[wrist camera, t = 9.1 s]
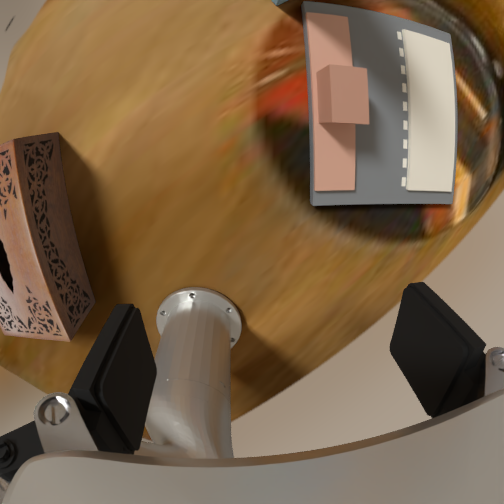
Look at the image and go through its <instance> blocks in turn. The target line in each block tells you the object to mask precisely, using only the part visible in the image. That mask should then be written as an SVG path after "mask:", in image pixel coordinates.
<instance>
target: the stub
mask: <svg viewBox="0 0 504 504" xmlns="http://www.w3.org/2000/svg"><path fill="white" fill-rule="evenodd" d="M306 23H307V33H308V45H309V58H310V73H311V91H312V113H313V148H314V190H315V191H330V190H355V124H369V97H368V78H367V68H360V67H353V64H352V52H351V42H350V32H349V24H348V17H345V16H338V15H330V14H321V13H310V12H307V13H306Z"/></svg>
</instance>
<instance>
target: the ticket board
mask: <svg viewBox="0 0 504 504" xmlns="http://www.w3.org/2000/svg"><path fill="white" fill-rule="evenodd" d="M301 9H302V19H303V29H304V41H305V54H306V68H307V85H308V105H309V133H310V203H311V204H312V205H313V206H321V205H354V204H452V202H453V193H454V184H455V172H456V157H457V92H456V77H455V66H454V57H453V50H452V43H451V36H450V34H448V33H446V32H443V31H440V30H438V29H435V28H432V27H429V26H426V25H423V24H420V23H417V22H414V21H410V20H407V19H403V18H400V17H396V16H392V15H388V14H384V13H380V12H375V11H370V10H366V9H360V8H355V7H349V6H343V5H336V4H328V3H320V2H310V1H303V3H302V5H301ZM307 12H310V13H321V14H330V15H338V16H345V17H348V24H349V32H350V42H351V52H352V64H353V67H360V68H367V78H368V97H369V124H355V190H330V191H315V190H314V148H313V113H312V91H311V73H310V58H309V45H308V33H307V23H306V13H307Z"/></svg>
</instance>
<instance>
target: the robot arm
mask: <svg viewBox="0 0 504 504" xmlns="http://www.w3.org/2000/svg"><path fill="white" fill-rule="evenodd" d="M156 322H157V328H158V331H159V333H160V335H161V339H160V343H159V346H158V349H157V353H156V356H155V360H154V357H153V354H152V351H151V348H150V344H149V341H148V338H147V334H146V331H145V327H144V324H143V320H142V316H141V313H140V310H139V309H138V308H135V307H134V305H133V304H117V305H116V306H115V308H114V309H113V311H112V313H111V314H110V316H109V318H108V320H107V321H106V323H105V325H104V327H103V328H102V330H101V332H100V334H99V336H98V337H97V339H96V341H95V343H94V344H93V346H92V348H91V350H90V352H89V354H88V356H87V358H86V359H85V361H84V363H83V365H82V367H81V369H80V371H79V373H78V375H77V377H76V379H75V381H74V383H73V385H72V387H71V389H70V391H69V393H68V394H65V393H52V394H49V395H47V396H45V397H43V398H42V399H41V400H40V401H39V402H38V404H37V405H36V407H35V410H34V419H35V421H32V422H30V423H28V424H26V425H24V426H22V427H20V428H18V429H16V430H14V431H11V432H9V433H7V434H5V435H3V436H1V437H0V504H504V348H501V347H494V348H491V349H489V350H488V351H487V353H486V354H484V352H483V350H484V348H485V346H486V344H485V342H484V341H483V340H482V339H481V338H480V337H479V336H478V335H477V334H476V333H475V332H474V331H473V330H472V329H471V328H470V327H469V326H468V325H467V324H466V323H465V322H464V321H463V320H462V319H461V318H460V317H459V316H458V315H457V314H456V313H455V312H454V311H453V310H452V309H451V308H450V307H449V306H448V305H447V304H446V303H445V302H444V301H443V300H442V299H441V298H440V297H439V296H438V295H437V294H436V293H435V292H434V291H433V290H431V289H430V288H429V287H428V286H427V285H426V284H425V283H424V282H418V283H410V284H408V286H407V288H405V289H404V291H403V295H402V300H401V304H400V309H399V313H398V317H397V321H396V324H395V328H394V332H393V336H392V340H391V343H390V352H391V355H392V356H393V358H394V359H395V361H396V362H397V364H398V366H399V368H400V369H401V371H402V372H403V374H404V376H405V377H406V379H407V381H408V382H409V384H410V386H411V387H412V389H413V391H414V392H415V394H416V395H417V398H418V399H419V401H420V403H421V405H422V406H423V408H424V410H425V412H426V413H427V415H429V416H431V417H432V419H430V420H427V421H424V422H421V423H418V424H416V425H413V426H410V427H407V428H404V429H401V430H397V431H394V432H390V433H387V434H384V435H380V436H376V437H372V438H369V439H365V440H361V441H356V442H352V443H348V444H344V445H339V446H334V447H328V448H323V449H317V450H311V451H304V452H297V453H290V454H282V455H272V456H261V457H247V458H234V456H233V450H232V440H231V407H230V363H231V348H232V347H233V346H234V345H235V344H236V343H237V341H238V339H239V337H240V334H241V327H242V324H241V317H240V314H239V311H238V310H237V308H236V306H235V305H234V304H233V303H232V302H231V301H230V300H229V299H228V298H227V297H225V296H224V295H222V294H220V293H218V292H216V291H213V290H210V289H207V288H200V287H190V288H184V289H180V290H178V291H175V292H173V293H172V294H170V295H169V296H167V297H166V298H165V299H164V300H163V302H162V304H161V305H160V307H159V310H158V313H157V318H156ZM144 426H146V428H147V431H148V433H149V435H150V437H151V439H152V440H153V442H154V443H149V442H148V443H147V442H143V441H141V440H142V435H143V431H144Z"/></svg>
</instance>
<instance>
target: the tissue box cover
mask: <svg viewBox="0 0 504 504" xmlns="http://www.w3.org/2000/svg"><path fill="white" fill-rule="evenodd" d="M95 302H96V301H95V298H94V295H93V292H92V289H91V286H90V283H89V280H88V276H87V273H86V270H85V266H84V263H83V259H82V256H81V252H80V249H79V245H78V241H77V237H76V233H75V229H74V225H73V220H72V216H71V211H70V206H69V201H68V196H67V191H66V185H65V179H64V173H63V167H62V159H61V152H60V143H59V134H58V132H56V133H48V134H41V135H35V136H28V137H23V138H17V139H13V140H10V141H8V142H6V143H3V144H1V145H0V327H1V329H2V331H3V333H4V335H10V336H18V337H27V338H36V339H47V340H59V341H71V340H72V338H73V337H74V335H75V334H76V332H77V330H78V329H79V327H80V326H81V324H82V322H83V321H84V319H85V318H86V316H87V315H88V313H89V312H90V310H91V308H92V307H93V305H94V304H95Z"/></svg>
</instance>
